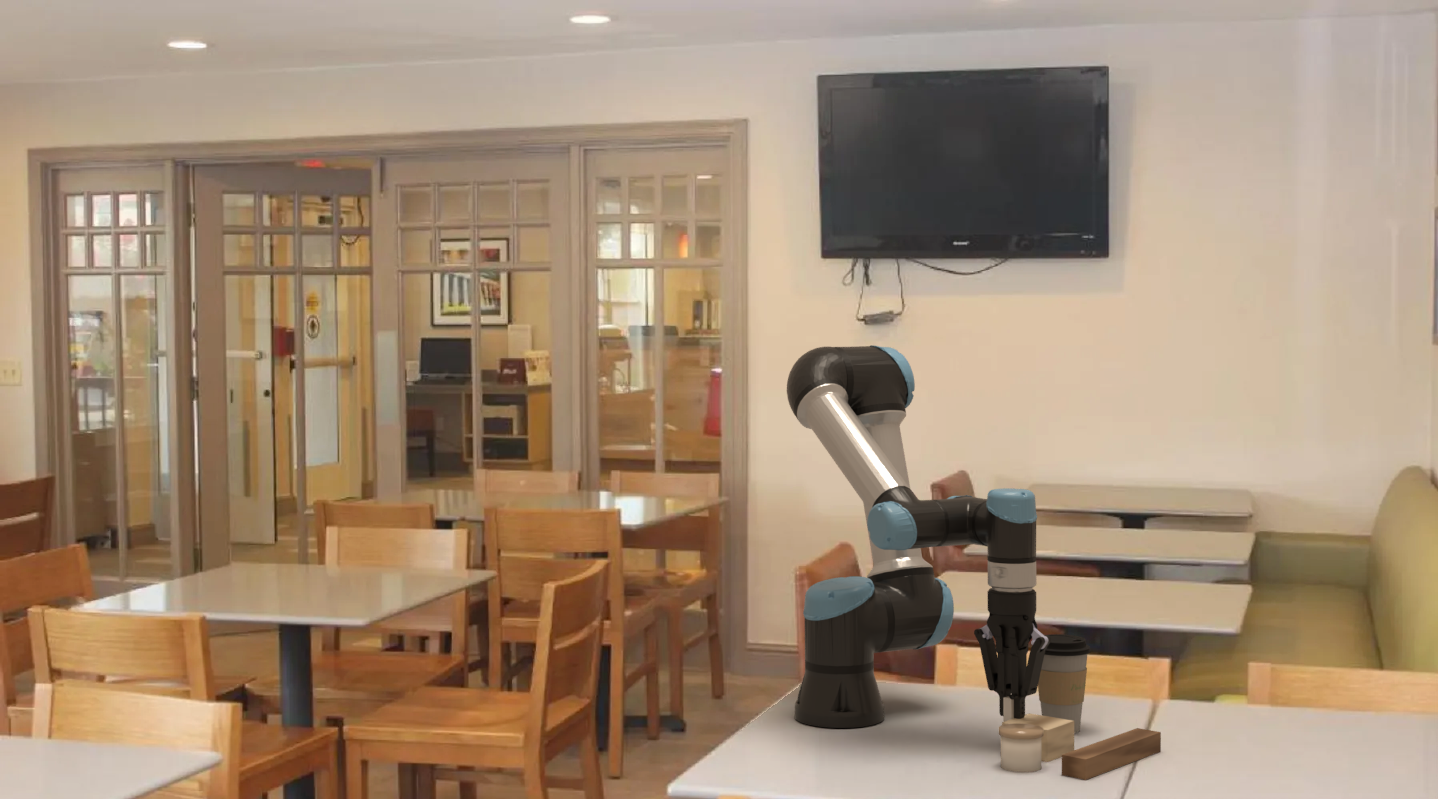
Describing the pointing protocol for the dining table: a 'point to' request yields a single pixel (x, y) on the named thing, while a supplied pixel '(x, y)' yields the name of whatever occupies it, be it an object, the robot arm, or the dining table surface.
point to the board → (1110, 753)
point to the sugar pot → (1021, 747)
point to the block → (1051, 734)
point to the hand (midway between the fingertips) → (1012, 737)
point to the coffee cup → (1064, 678)
